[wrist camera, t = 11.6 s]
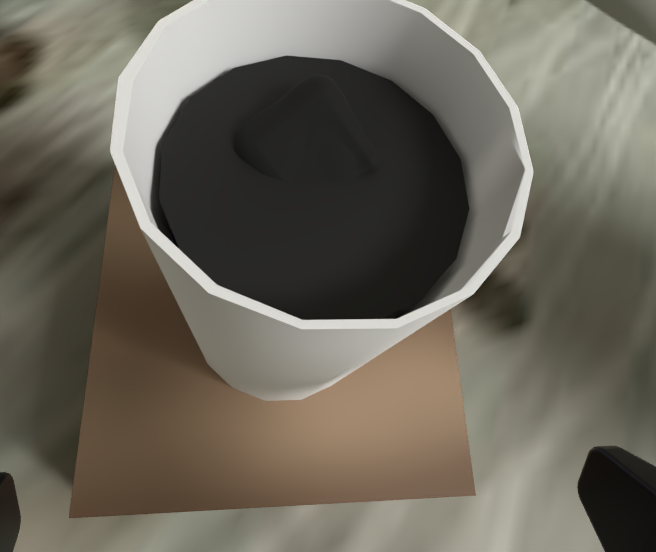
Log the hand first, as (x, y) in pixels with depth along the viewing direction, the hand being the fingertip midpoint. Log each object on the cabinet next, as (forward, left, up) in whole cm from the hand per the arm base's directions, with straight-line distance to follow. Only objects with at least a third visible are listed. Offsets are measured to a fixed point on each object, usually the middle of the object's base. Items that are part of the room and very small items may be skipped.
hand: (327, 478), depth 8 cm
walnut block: (+2, -5, -12) cm, 13 cm away
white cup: (+2, -5, -8) cm, 10 cm away
